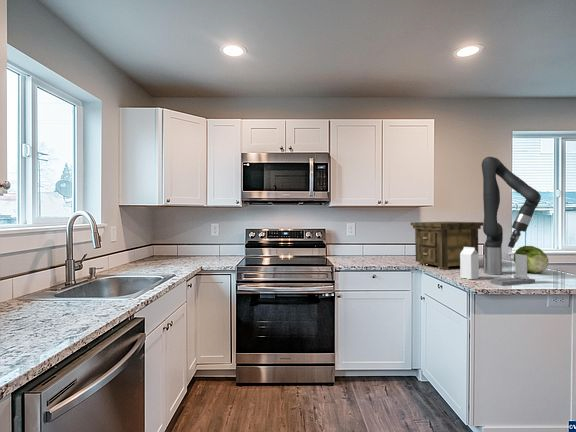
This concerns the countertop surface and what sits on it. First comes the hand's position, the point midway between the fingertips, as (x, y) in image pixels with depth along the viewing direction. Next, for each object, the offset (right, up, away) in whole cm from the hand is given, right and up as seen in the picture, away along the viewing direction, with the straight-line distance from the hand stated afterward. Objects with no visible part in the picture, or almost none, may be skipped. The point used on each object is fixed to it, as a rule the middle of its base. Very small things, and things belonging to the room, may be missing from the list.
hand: (510, 247), depth 207 cm
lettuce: (+24, -18, +15) cm, 33 cm away
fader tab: (-4, -16, -15) cm, 23 cm away
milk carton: (-26, -19, -2) cm, 32 cm away
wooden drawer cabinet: (-17, -19, +47) cm, 54 cm away
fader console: (-10, -19, -17) cm, 27 cm away
